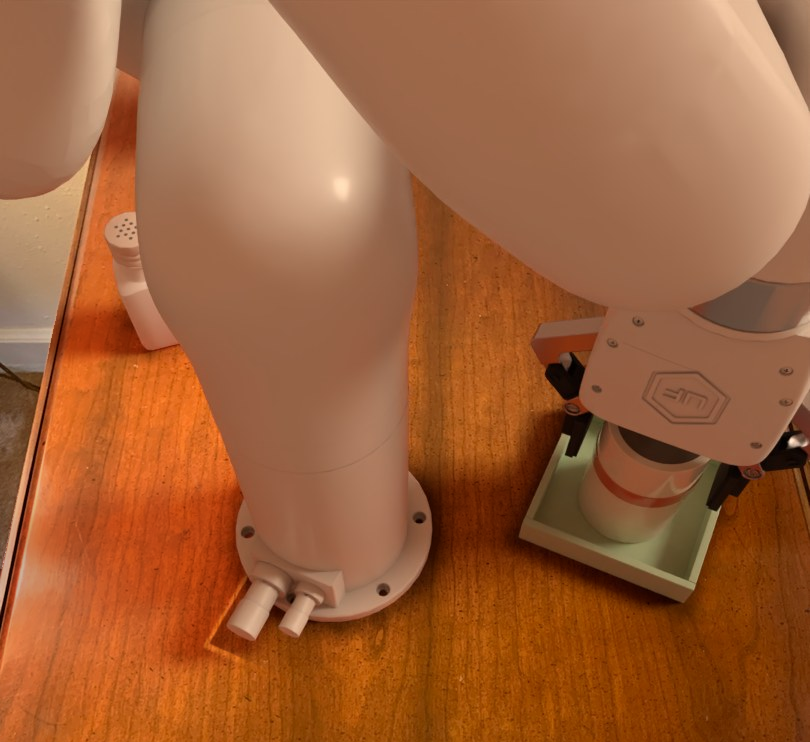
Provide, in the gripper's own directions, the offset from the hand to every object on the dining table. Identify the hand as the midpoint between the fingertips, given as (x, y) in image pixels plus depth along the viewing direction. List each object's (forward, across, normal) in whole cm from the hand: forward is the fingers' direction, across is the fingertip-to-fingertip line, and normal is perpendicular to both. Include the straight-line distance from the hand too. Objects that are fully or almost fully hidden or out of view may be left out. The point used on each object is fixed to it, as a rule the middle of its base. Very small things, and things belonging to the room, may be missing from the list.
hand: (646, 463), depth 50 cm
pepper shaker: (+5, -36, 0) cm, 36 cm away
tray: (+5, 0, 0) cm, 5 cm away
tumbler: (+5, 0, 0) cm, 5 cm away
